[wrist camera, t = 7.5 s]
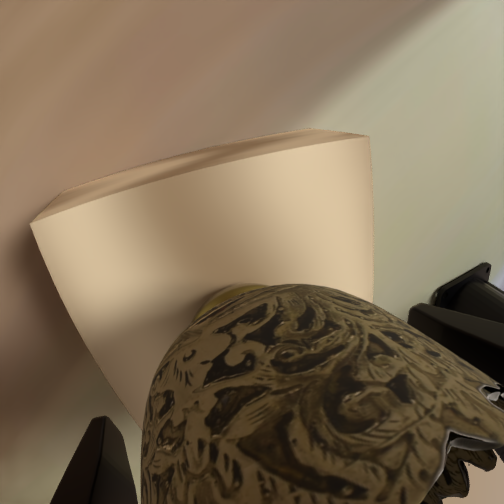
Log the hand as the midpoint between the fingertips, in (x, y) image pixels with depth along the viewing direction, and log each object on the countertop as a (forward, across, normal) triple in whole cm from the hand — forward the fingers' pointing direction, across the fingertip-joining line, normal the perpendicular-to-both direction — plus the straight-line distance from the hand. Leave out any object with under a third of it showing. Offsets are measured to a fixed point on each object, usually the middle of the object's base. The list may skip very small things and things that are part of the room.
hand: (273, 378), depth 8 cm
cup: (+3, 0, 0) cm, 3 cm away
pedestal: (+7, 0, 0) cm, 7 cm away
